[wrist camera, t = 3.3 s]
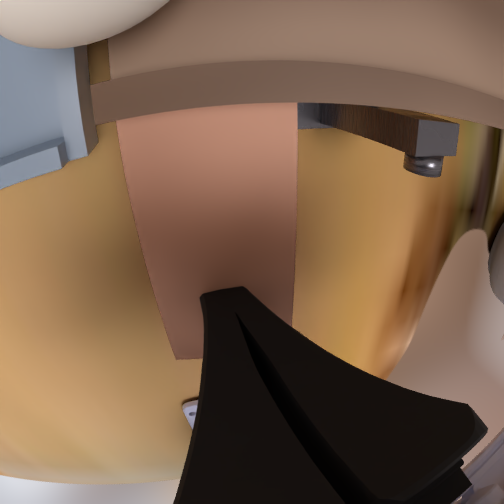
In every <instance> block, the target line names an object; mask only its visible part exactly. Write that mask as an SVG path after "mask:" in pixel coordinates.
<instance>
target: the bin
mask: <svg viewBox="0 0 504 504" xmlns="http://www.w3.org/2000/svg"><path fill="white" fill-rule="evenodd" d="M97 143H98V137H97V131H96V125H95V120H94V113H93V105H92V98H91V89H90V78H89V68H88V55H87V45H82V46H77V47H71V48H62V49H45V48H34V47H28V46H24V45H21V44H17V43H15V42H13V41H10V40H8V39H6V38H4V37H3V36H1V35H0V189H2V188H5V187H8V186H11V185H13V184H16V183H19V182H22V181H25V180H27V179H30V178H33V177H36V176H40V175H43V174H46V173H49V172H52V171H55V170H59V169H62V168H63V167H64V166H65V165H66V163H67V162H68V161H71V160H75V159H78V158H82V157H86V156H88V155H89V154H90V153H91V151H92V150H93V149H94V147H95V146H96V145H97Z"/></svg>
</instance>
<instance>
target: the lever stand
mask: <svg viewBox="0 0 504 504" xmlns="http://www.w3.org/2000/svg"><path fill="white" fill-rule="evenodd" d="M297 123H298V129H312V128H337V129H341V130H344V131H347V132H350V133H353V134H356V135H359V136H362V137H365V138H368V139H371V140H373V141H376V142H379V143H382V144H384V145H387V146H390V147H392V148H395V149H397V150H400V151H402V152H405V156H404V165H403V167H404V168H405V169H406V170H408V171H410V172H412V173H415V174H418V175H422V176H426V177H440V176H441V171H442V165H443V158H444V156H456V150H457V142H458V134H459V125H460V124H457V123H454V122H451V121H448V120H444V119H441V118H438V117H434V116H431V115H427V114H423V113H420V112H416V111H412V110H404V109H396V108H388V107H378V106H367V105H354V104H337V103H297Z"/></svg>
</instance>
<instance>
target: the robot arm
mask: <svg viewBox="0 0 504 504" xmlns="http://www.w3.org/2000/svg"><path fill="white" fill-rule="evenodd" d="M199 299H200V304H201V309H202V314H203V324H204V343H203V362H202V373H201V383H200V391H199V398H198V400H195V401H191V402H187V403H185V404H184V405H183V406H182V408H183V412H184V414H185V416H186V418H187V420H188V422H189V424H190V426H191V428H192V430H193V431H192V436H191V441H190V445H189V450H188V454H187V458H186V461H185V465H184V469H183V472H182V476H181V480H180V484H179V487H178V490H177V493H176V497H175V500H174V503H173V504H504V428H503V429H502V430H501V431H500V432H499V433H498V434H497V435H496V437H495V438H494V439H493V440H492V441H491V442H490V443H489V444H488V445H487V446H486V447H485V448H484V449H483V450H482V451H481V452H480V453H479V454H478V455H477V456H476V457H475V458H474V459H473V460H472V461H471V462H470V463H468V464H467V465H466V466H465V467H464V468H463V469H461V468H460V467H461V466H462V465H463V464H464V461H463V460H462V457H463V456H464V455H466V454H467V453H468V452H469V451H470V450H471V449H472V448H473V447H474V446H475V445H476V444H477V443H478V442H479V441H480V440H481V439H482V438H483V437H484V436H485V435H486V433H487V430H488V428H487V426H486V425H485V424H484V423H483V421H482V420H481V419H480V418H479V417H478V415H477V414H476V413H475V412H474V410H473V409H472V408H471V407H470V406H469V405H468V404H465V403H460V402H455V401H450V400H446V399H441V398H437V397H432V396H429V395H425V394H422V393H418V392H415V391H412V390H409V389H406V388H403V387H401V386H398V385H395V384H393V383H391V382H388V381H386V380H383V379H381V378H378V377H376V376H373V375H371V374H369V373H367V372H365V371H363V370H361V369H359V368H356V367H354V366H352V365H350V364H349V363H347V362H345V361H343V360H341V359H340V358H338V357H336V356H334V355H333V354H331V353H329V352H328V351H326V350H324V349H323V348H321V347H320V346H318V345H317V344H315V343H314V342H312V341H311V340H309V339H308V338H306V337H305V336H303V335H302V334H301V333H299V332H298V331H296V330H295V329H294V328H292V327H291V326H290V325H289V324H287V323H286V322H285V321H283V320H282V319H281V318H279V317H278V316H277V315H276V314H275V313H273V312H272V311H271V310H270V309H269V308H268V307H266V306H265V305H264V304H263V303H262V302H261V301H260V300H258V299H257V298H256V297H255V296H254V295H253V294H252V293H251V292H250V291H249V290H248V289H247V288H245V287H244V286H240V287H233V288H227V289H220V290H216V291H212V292H207V293H203V294H202V295H201V296H200V297H199ZM461 496H462V499H460V500H458V498H460V497H461ZM457 500H458V501H457ZM455 501H456V502H455ZM454 502H455V503H454Z"/></svg>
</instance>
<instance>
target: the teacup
mask: <svg viewBox="0 0 504 504" xmlns="http://www.w3.org/2000/svg"><path fill="white" fill-rule="evenodd" d="M488 268H489V273H490V285H491V288H492V291H493V293H494V294H495V296H496V297H497V298H498V299H499V300H500V301H501V302H502V303H503V304H504V222H503V224H502V226H501V227H500V229H499V231H498V233H497V235H496V238H495V240H494V243H493V245H492V248H491V252H490V255H489V261H488Z"/></svg>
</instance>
